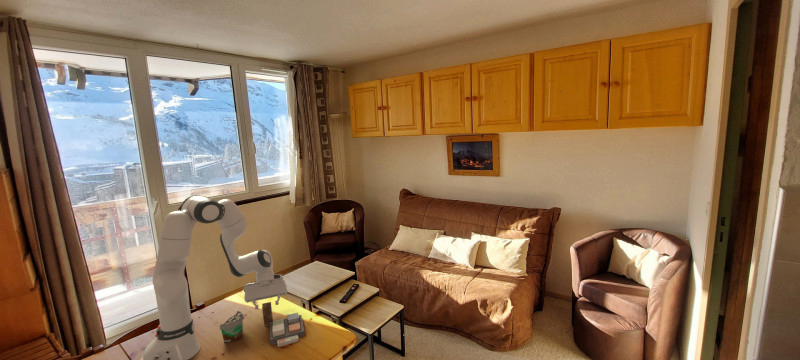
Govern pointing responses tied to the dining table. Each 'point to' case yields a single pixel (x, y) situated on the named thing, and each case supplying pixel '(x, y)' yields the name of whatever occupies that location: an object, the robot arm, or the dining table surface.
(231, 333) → the food container
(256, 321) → the dining table surface
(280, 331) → the key cream
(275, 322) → the key sage
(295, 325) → the key terracotta
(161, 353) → the robot arm
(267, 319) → the dark brown block
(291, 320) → the key slate
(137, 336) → the dining table surface
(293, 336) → the keypad
